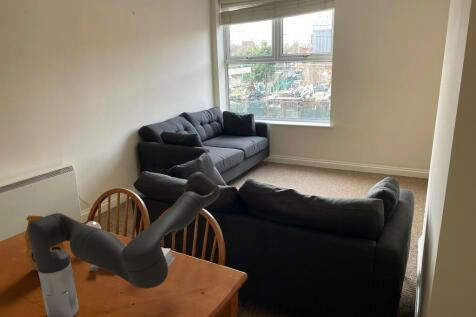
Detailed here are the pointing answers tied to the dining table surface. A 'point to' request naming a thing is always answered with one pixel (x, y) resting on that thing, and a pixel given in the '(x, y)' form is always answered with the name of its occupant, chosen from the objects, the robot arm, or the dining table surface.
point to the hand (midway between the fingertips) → (163, 235)
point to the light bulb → (94, 224)
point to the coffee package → (29, 248)
